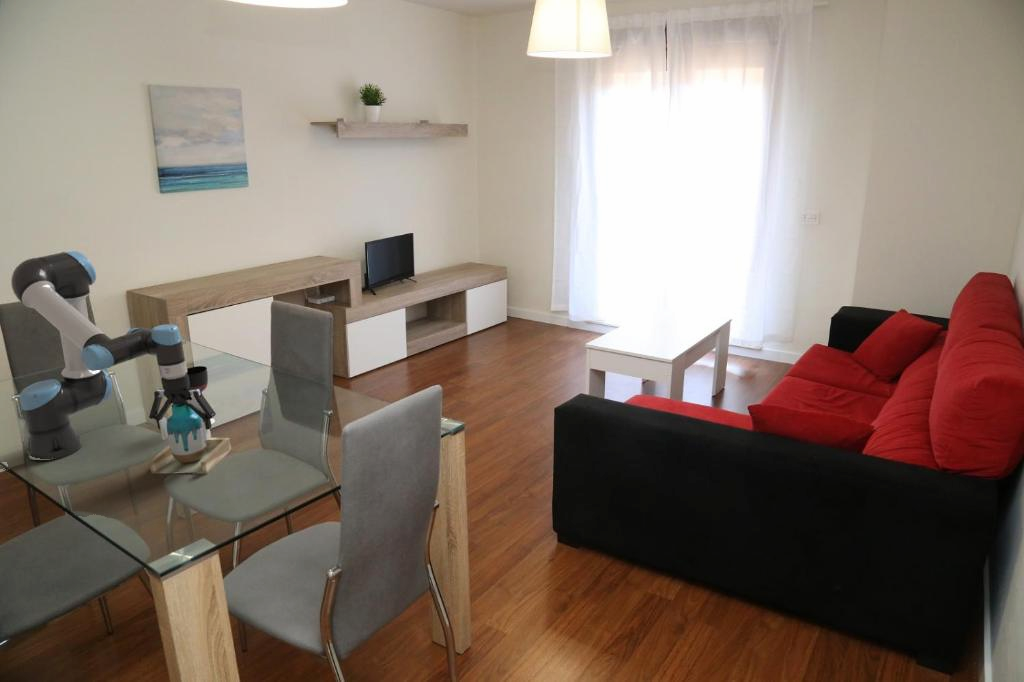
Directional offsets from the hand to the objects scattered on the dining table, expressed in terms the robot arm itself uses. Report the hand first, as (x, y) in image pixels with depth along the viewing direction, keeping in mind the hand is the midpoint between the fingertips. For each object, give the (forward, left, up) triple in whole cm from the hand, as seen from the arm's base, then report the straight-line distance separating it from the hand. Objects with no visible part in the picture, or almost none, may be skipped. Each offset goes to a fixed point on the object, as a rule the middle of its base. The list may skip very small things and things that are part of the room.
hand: (187, 438), depth 218 cm
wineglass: (-11, +29, -8) cm, 32 cm away
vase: (0, 0, -8) cm, 8 cm away
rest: (0, 0, -8) cm, 8 cm away
